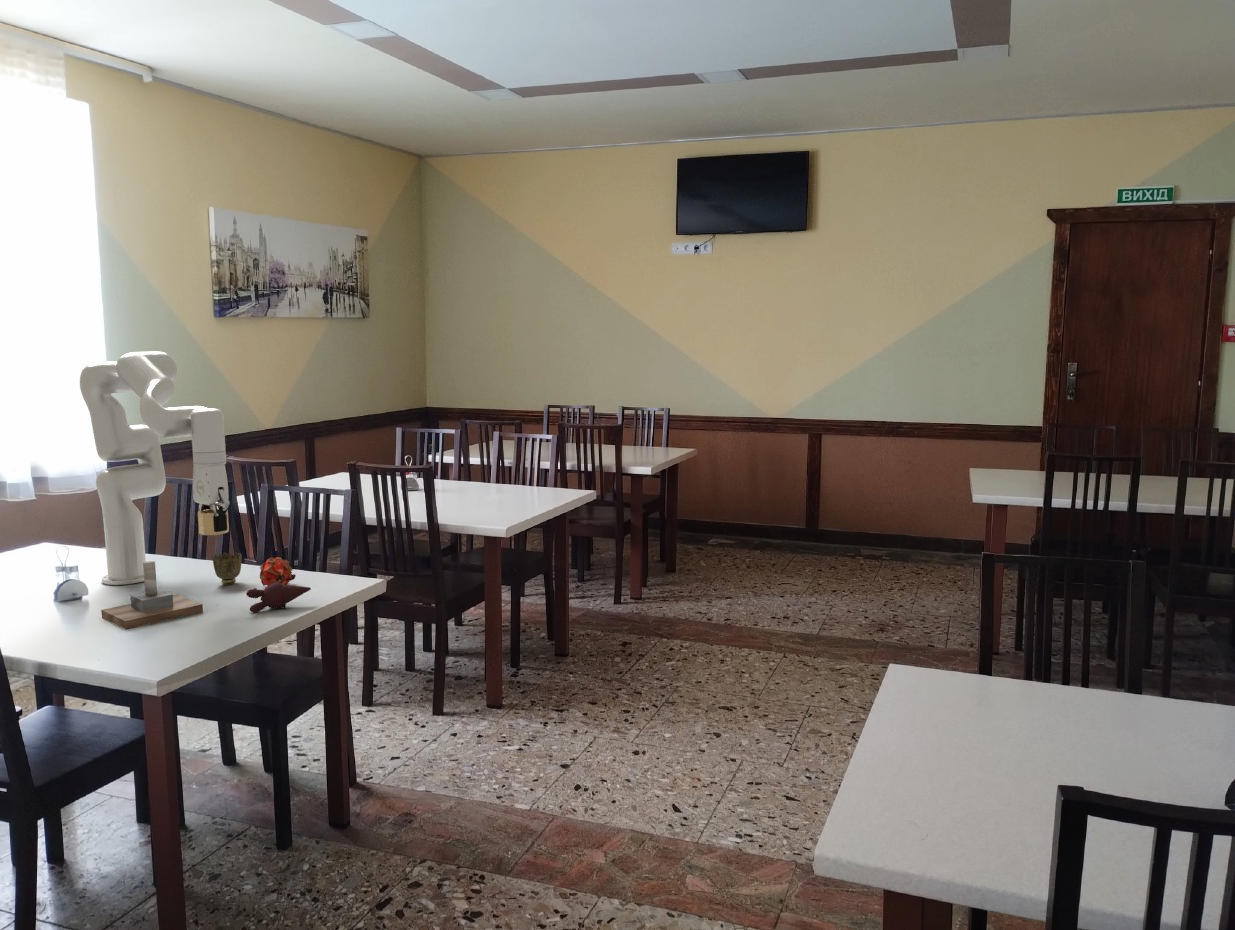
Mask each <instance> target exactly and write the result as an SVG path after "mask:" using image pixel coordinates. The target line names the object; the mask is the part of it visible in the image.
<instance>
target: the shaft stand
mask: <svg viewBox="0 0 1235 930" xmlns="http://www.w3.org/2000/svg"><path fill="white" fill-rule="evenodd" d="M143 571H144V581H143V583H144V592H141V593H140V592H139V593H135V594H131V595H129V596H130V603H127V604H121V605H118V606H113V607H108V608H104V609H101V610H100V611H101V612H100V613H101V619H103V620H105V621H107V622H110V623H111V624H113V625H116V626H118V627H120V628H122V629H124V630H129V629H134V628H138V627H143V626H147V625H151V624H156V623H162V622H165V621H169V620H173V619H178V618H182V617H183V618H184V617H187V616H192V615H195V614H196V615H197V614H200V613H204V605H203V603H202V602H198V601H195V600H193V599H190V598H187V597H186V596H183V595H180V594H177V593H176V594H173V593H170V592H167V591H165V590H163V589H158V585H157V570H156V560H155V561H154V560H148V561H146V562H143Z"/></svg>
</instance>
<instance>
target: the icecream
mask: <svg viewBox="0 0 1235 930" xmlns="http://www.w3.org/2000/svg"><path fill="white" fill-rule="evenodd" d="M311 589H312V588H311V587H309V586H300V585H290V584H287V585H282V584H281V583H280V582H279V581H278V582H275V583H273V584H271V585H269V586H266V587H265V588H264V589H261V588H260V589H258V588H257V587H256V588H255V587H254V588H252V589H251V588H250V589H248V590H247V591H246V596H247V597H248V598H250V599H259V598H260V601H259V602H257V603H256V602H255V603H254V604H252V605H251V606H250V607H249V611H250V612H251V613H258V612H260V611H263V610H265V609H266V608H267V607H268V608H271V609H279V610H280V609H286V606H287V604H288V603H290V602H292V601H293V600H295V599H297V598H298V597H300V596H302V595H304V594H306V593H308V592H309V591H310V590H311Z"/></svg>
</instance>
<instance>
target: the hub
mask: <svg viewBox="0 0 1235 930" xmlns="http://www.w3.org/2000/svg"><path fill="white" fill-rule="evenodd" d="M213 516H215V514H214V510H213V508H211V509H206V510H201V511H199V510H198V511H197V521H198V522H197V523H198V535H202V536H217V535H223V534H226V533H229V532H230V525H229V522H230V521H229V510H227V530H226V531H221V532H214V523H213Z"/></svg>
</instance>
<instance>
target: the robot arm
mask: <svg viewBox="0 0 1235 930" xmlns="http://www.w3.org/2000/svg"><path fill="white" fill-rule="evenodd" d="M177 372H178V368H177V364H176V361H175V360H174V359H173V357H172V356H171V355H169V354H168V353H166V352H163V351H133V352H128V353H125V354H122V355H121V356H120V357H119V358H118V359H117V361H100V362H95V363H90V364H88V365H86V366H85V367H84V368H83V369H82V370H81V372H80V377H79V389H80V394H81V396H82V398H83V400H84V402H85V405H86V407H87V409H88V411H89V415H90V421H91V426H92V433H93V437H94V438H93V439H94V444H95V448H96V451H97V452H96V453H97V455H98V457H99V458H100V459H101V460H102V461H104V462H108V463H109V462H111V463H112V462H113V463H114V462H126V461H134V460H137V462H138V463H136V464H129V465H128V464H126V465H120V466H119V465H118V466H111V467H109V468H105V469H103V470H102V471H101V472H99V474H98V475H97V477H96V480H95V486H96V491H97V494H98V497H99V500H100V501H99V502H100V505H101V513H102V521H103V531H104V541H105V555H106V567H107V568H106V569H107V575H104V576H103V577H102V578H101V583H103V584H104V585H109V586H110V585H111V586H119V585H121V586H122V585H133V584H137V583H139V584H140V583H144V571H143V562H147V561H146V548H145V535H144V522H143V515H142V512H141V510H139V508H138V507H137V506H136V504H135V503H134V502H133V501H134V500H138V499H144V498H151V497H155V496H159V495H161V494H162V493H163V492H164V491H165V488H166V484H167V481H166V480H167V478H166V472H165V466H164V460H163V454H162V448H161V444H160V443H161V441H160V438H162V439H175V438H184V437H191V444H192V445H191V446H192V460H193V461H192V462H193V463H192V464H193V467H192V470H193V471H192V499H193V501H194V502H195V503H197V505H198V512H199V511H201V510H206V509H213V510H214V514H215V516H213V523H214V532H221V531H226V530H227V510H228V509H229V506H230V500H229V484H228V476H227V475H228V474H227V470H226V465H227V453H226V437H225V421H224V420H225V417H224V412H223V411H222V410H221V409H219V408H214V407H213V408H208V407H205V406H201V405H193V406H175V407H174V406H173V407H164V406H163V405H165V404H167V402H168V401H170V400H171V399H172V397H173V395H174V393H175V388H176V387H175V383H174V382H173V381H174V379H175V378H176V377H177ZM122 393H123V394H124V393H125V394H126V393H135V394H136V395H137V396H138V397H139V398H140V400H139V413H140V417H141V418H142V421H143V423H144V424H134V425H133V424H132V425H129V423H128V420H127V415H126V414H127V413H126V409H125V407H124V406H123V405H122V403H121V401H119V400H118V399H117V398H116V397H115V396H114V395H113V394H122ZM159 437H160V438H159ZM228 511H229V510H228Z"/></svg>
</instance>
